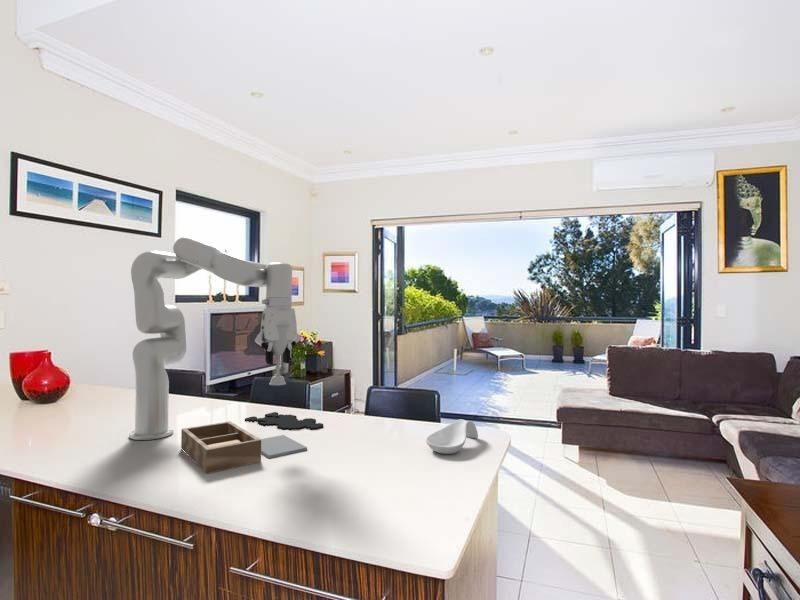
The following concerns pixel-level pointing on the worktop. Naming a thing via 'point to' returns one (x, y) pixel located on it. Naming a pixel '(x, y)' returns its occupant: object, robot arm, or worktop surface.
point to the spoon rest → (452, 437)
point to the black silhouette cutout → (286, 422)
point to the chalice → (278, 350)
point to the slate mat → (280, 446)
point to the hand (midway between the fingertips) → (277, 362)
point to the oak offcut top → (223, 443)
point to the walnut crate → (222, 456)
